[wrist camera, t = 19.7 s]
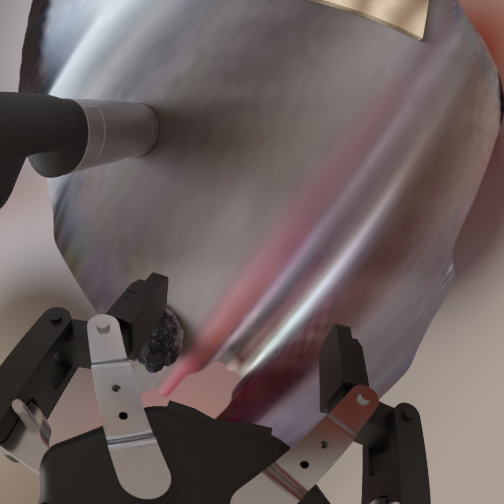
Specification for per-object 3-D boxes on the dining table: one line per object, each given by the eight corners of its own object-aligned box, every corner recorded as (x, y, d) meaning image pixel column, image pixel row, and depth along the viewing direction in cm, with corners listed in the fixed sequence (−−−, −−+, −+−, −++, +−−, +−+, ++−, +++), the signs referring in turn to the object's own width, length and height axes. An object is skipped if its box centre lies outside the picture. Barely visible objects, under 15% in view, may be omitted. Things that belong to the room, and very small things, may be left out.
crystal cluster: (132, 286, 55) (102, 314, 47) (191, 313, 54) (165, 347, 45) (133, 331, 62) (109, 359, 53) (185, 356, 60) (164, 389, 51)
